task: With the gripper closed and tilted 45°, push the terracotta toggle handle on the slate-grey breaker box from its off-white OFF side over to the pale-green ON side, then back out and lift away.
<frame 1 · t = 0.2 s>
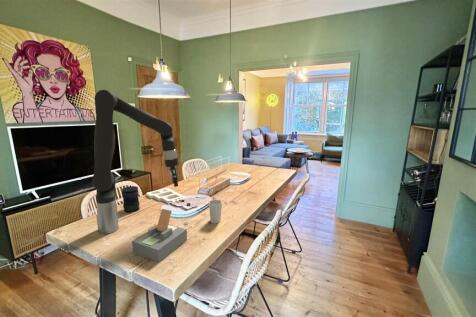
hand: (175, 184, 135), 23 cm above the table, tool pointing down, fingers open, 8 cm apart
storage jar: (131, 210, 154), on the table
holder: (170, 201, 171), on the table
breaker box: (161, 245, 114), on the table
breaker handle: (163, 221, 114), point 12 cm above the table, hinge at -25.0°
cup: (215, 220, 140), on the table
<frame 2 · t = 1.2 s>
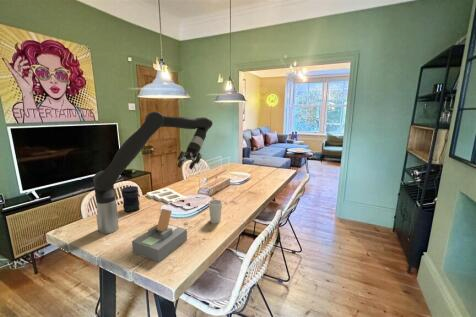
hand: (184, 167, 133), 33 cm above the table, tool tilted 45°, fingers open, 8 cm apart
nothing on the table moved.
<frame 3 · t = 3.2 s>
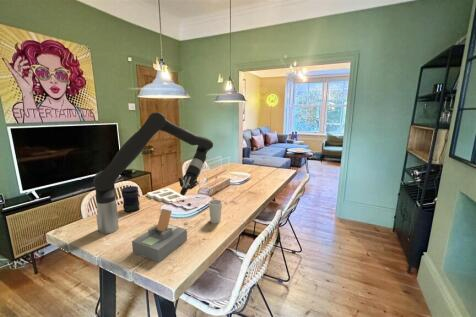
hand: (182, 194, 125), 21 cm above the table, tool tilted 45°, fingers closed
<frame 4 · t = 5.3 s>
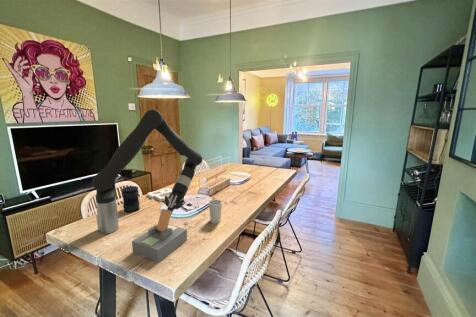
hand: (167, 215, 116), 14 cm above the table, tool tilted 45°, fingers closed
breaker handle: (163, 221, 114), point 12 cm above the table, hinge at -25.0°, touching gripper
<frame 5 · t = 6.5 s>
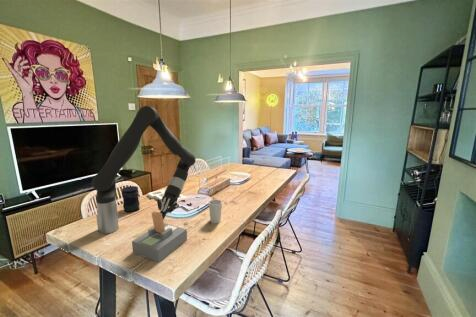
hand: (160, 219, 111), 14 cm above the table, tool tilted 45°, fingers closed
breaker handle: (158, 223, 110), point 12 cm above the table, hinge at 7.9°, touching gripper
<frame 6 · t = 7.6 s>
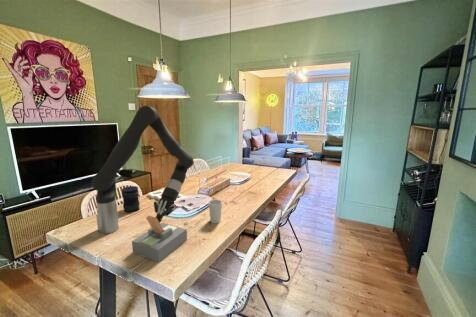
hand: (156, 222, 109), 13 cm above the table, tool tilted 45°, fingers closed
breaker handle: (156, 226, 109), point 12 cm above the table, hinge at 24.6°, touching gripper
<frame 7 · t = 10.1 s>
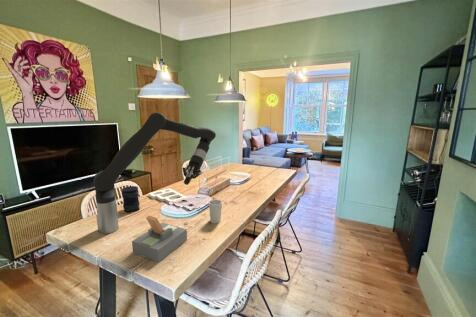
hand: (185, 183, 127), 26 cm above the table, tool tilted 45°, fingers closed
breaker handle: (156, 226, 109), point 12 cm above the table, hinge at 24.7°
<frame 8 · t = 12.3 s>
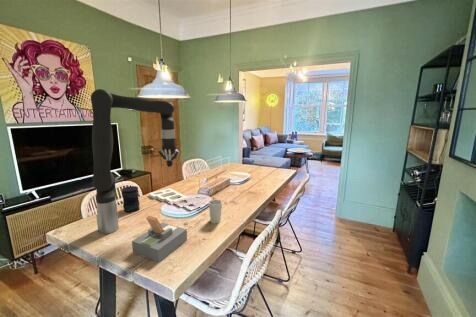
hand: (169, 166, 136), 33 cm above the table, tool pointing down, fingers closed
at the end: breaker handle at +25° (first picture: -25°) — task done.
